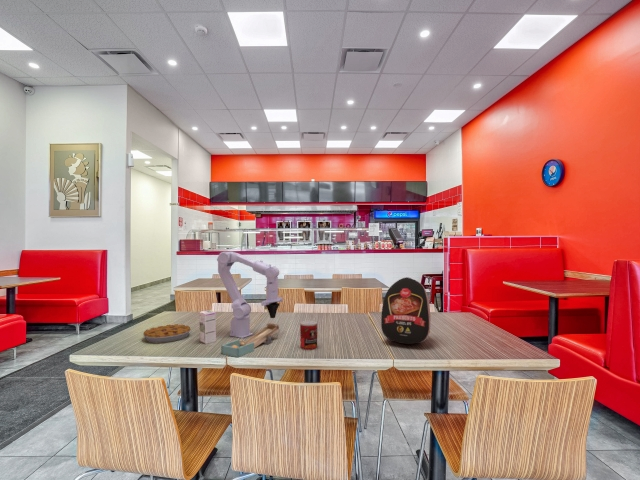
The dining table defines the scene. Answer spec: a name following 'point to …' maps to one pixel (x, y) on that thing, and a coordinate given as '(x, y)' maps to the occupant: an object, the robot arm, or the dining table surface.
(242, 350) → the teal u-shaped frame
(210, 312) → the syrup box
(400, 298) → the packaged food
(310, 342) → the canned food
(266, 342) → the fulcrum
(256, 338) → the lever
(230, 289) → the robot arm
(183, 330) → the pie
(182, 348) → the dining table surface
